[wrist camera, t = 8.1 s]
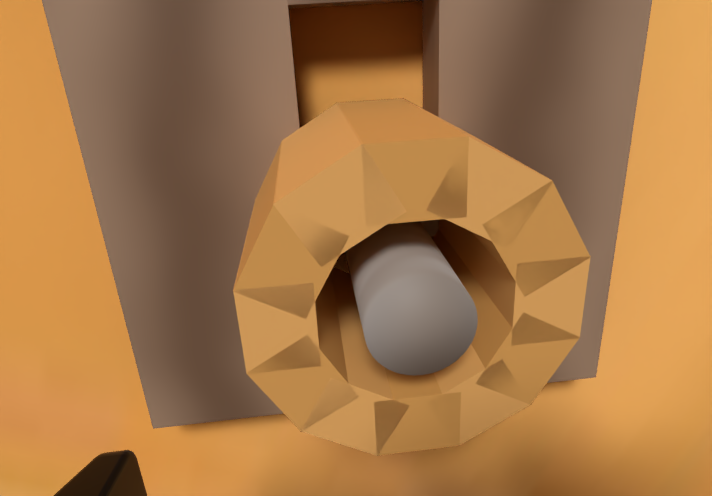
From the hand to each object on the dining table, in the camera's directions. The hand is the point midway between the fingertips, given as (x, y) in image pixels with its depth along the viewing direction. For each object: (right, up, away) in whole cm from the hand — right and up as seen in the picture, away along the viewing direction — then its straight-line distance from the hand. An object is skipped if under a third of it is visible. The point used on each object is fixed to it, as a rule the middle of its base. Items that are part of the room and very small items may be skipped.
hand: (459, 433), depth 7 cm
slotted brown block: (-1, +4, +10) cm, 11 cm away
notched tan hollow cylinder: (-1, +4, +8) cm, 9 cm away
